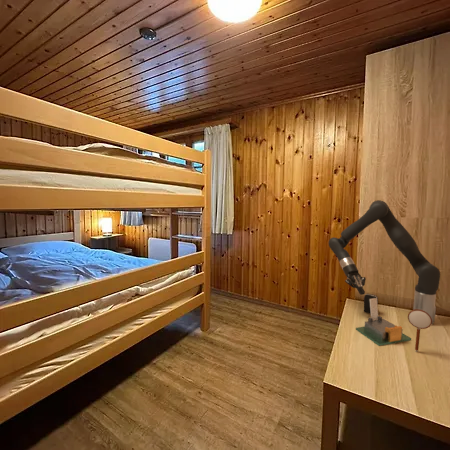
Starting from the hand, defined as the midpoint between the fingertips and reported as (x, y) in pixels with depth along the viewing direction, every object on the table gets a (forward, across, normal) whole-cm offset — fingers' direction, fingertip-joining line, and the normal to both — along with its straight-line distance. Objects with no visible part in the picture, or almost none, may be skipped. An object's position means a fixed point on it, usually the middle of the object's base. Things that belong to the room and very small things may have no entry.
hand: (362, 294), depth 141 cm
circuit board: (+21, 0, +1) cm, 21 cm away
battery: (+6, +13, +16) cm, 22 cm away
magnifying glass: (+32, +3, -10) cm, 34 cm away
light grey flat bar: (+9, 0, -2) cm, 10 cm away
